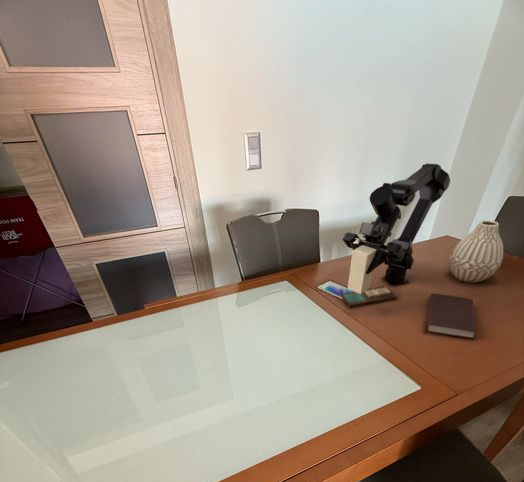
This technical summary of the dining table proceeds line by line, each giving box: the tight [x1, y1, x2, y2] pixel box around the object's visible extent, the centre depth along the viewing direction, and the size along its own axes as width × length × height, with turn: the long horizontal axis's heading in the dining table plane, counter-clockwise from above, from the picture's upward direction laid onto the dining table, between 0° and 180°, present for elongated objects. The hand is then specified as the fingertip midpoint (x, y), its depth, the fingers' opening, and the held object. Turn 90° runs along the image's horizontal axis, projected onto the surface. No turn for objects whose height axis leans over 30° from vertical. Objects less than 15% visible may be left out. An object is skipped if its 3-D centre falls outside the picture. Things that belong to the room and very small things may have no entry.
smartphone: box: [317, 280, 354, 300], centre depth 113 cm, size 7×1×15 cm
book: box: [426, 293, 477, 339], centre depth 94 cm, size 12×19×3 cm, turn 155°
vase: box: [448, 220, 505, 284], centre depth 108 cm, size 16×16×20 cm
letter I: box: [347, 245, 377, 294], centre depth 94 cm, size 5×5×13 cm
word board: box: [340, 285, 396, 308], centre depth 108 cm, size 17×8×2 cm, turn 102°
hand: (358, 271), depth 93 cm, fingers closed on letter I, 5 cm apart
